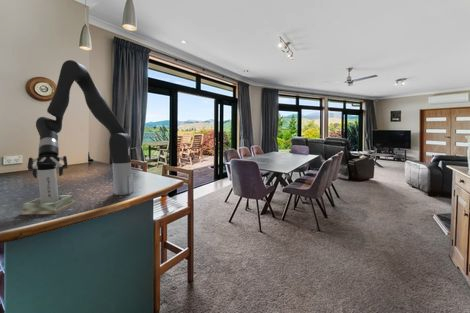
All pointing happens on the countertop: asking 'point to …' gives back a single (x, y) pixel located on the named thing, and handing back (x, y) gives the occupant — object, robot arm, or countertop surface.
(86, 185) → the countertop surface
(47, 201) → the travel mug
